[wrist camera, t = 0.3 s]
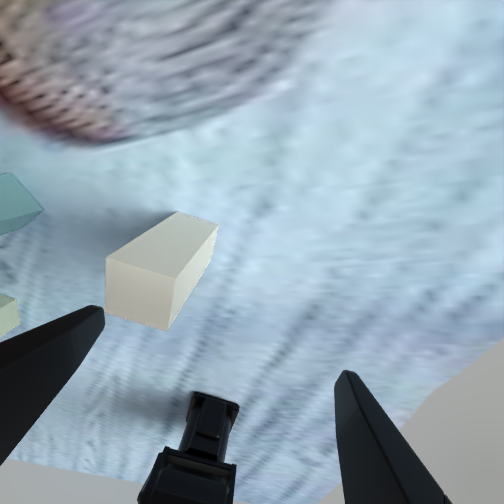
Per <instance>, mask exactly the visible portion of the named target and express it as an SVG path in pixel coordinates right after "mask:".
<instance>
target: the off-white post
mask: <svg viewBox="0 0 504 504" xmlns="http://www.w3.org/2000/svg"><path fill="white" fill-rule="evenodd" d="M218 227H219V224H217V223H214V222H211V221H208V220H204V219H201V218H198V217H194V216H191V215H188V214H185V213H181V212H176V213H174V214H173V215H171V216H170V217H168V218H167V219H165V220H163V221H162V222H160V223H159V224H157V225H156V226H154V227H152V228H151V229H149V230H148V231H146V232H145V233H143V234H142V235H140V236H138V237H137V238H135V239H134V240H132V241H131V242H129V243H127V244H126V245H124V246H123V247H121V248H120V249H118V250H116V251H115V252H113V253H112V254H110V255H109V256H107V257H106V269H105V313H107V314H110V315H113V316H117V317H120V318H123V319H127V320H130V321H133V322H137V323H140V324H143V325H147V326H150V327H153V328H157V329H160V330H163V331H168V329H169V328H170V326H171V324H172V323H173V321H174V320H175V318H176V316H177V315H178V313H179V311H180V310H181V308H182V307H183V305H184V303H185V302H186V300H187V298H188V297H189V295H190V294H191V292H192V290H193V289H194V287H195V285H196V284H197V282H198V281H199V279H200V277H201V276H202V274H203V272H204V271H205V269H206V268H207V266H208V264H209V263H210V261H211V257H212V253H213V249H214V244H215V240H216V236H217V231H218Z"/></svg>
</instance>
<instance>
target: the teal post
mask: <svg viewBox="0 0 504 504" xmlns="http://www.w3.org/2000/svg"><path fill="white" fill-rule="evenodd" d="M43 210H44V209H43V207H42V206H41V205H40V204H39V203H38V202H37V201H36V200H35V199H34V197H33V196H32V195H31V194H30V193H29V192H28V191H27V190H26V189H25V187H24V186H23V185H22V184H21V183H20V182H19V181H18V180H17V179H16V177H15V176H14V175H13V174H12V173H5V174H0V235H2V234H5V233H8V232H11V231H14V230H17V229H21V228H22V227H24V226H25V225H26V224H27V223H28V222H30V221H31V220H32V219H33V218H34V217H36V216H37V215H38V214H39V213H40V212H42V211H43Z"/></svg>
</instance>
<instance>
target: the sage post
mask: <svg viewBox="0 0 504 504" xmlns="http://www.w3.org/2000/svg"><path fill="white" fill-rule="evenodd" d="M19 324H21V323H20V317H19V312H18V306H17V301H16V299H14V298H11V297H7V296H4V295H1V294H0V337H2V336H3V335H5V334H6V333H8V332H9V331H11V330H12V329H14V328H15V327H16V326H18V325H19Z"/></svg>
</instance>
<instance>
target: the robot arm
mask: <svg viewBox="0 0 504 504" xmlns="http://www.w3.org/2000/svg"><path fill="white" fill-rule="evenodd" d="M104 326H105V317H104V309H103V308H102V307H99V306H96V305H89V306H86V307H84V308H82V309H79V310H77V311H74V312H72V313H70V314H67V315H65V316H62V317H60V318H58V319H55V320H53V321H50V322H48V323H46V324H43V325H41V326H38V327H36V328H34V329H31V330H29V331H26V332H24V333H22V334H19V335H17V336H14V337H12V338H10V339H7V340H5V341H3V342H0V466H1V465H2V463H3V462H4V461H5V460H6V458H7V457H8V456H9V454H10V453H11V452H12V451H13V449H14V448H15V447H16V446H17V444H18V443H19V442H20V441H21V439H22V438H23V437H24V436H25V434H26V433H27V432H28V431H29V429H30V428H31V427H32V426H33V424H34V423H35V422H36V421H37V419H38V418H39V417H40V415H41V414H42V413H43V412H44V410H45V409H46V408H47V407H48V405H49V404H50V403H51V402H52V400H53V399H54V398H55V397H56V395H57V394H58V393H59V392H60V390H61V389H62V388H63V387H64V385H65V384H66V383H67V382H68V380H69V379H70V378H71V376H72V375H73V374H74V373H75V371H76V370H77V369H78V367H79V366H80V364H81V363H82V361H83V360H84V358H85V357H86V355H87V354H88V352H89V351H90V349H91V348H92V346H93V344H94V343H95V341H96V340H97V338H98V337H99V335H100V334H101V332H102V331H103V329H104ZM334 397H335V424H336V439H337V448H338V455H339V462H340V470H341V477H342V484H343V492H344V499H345V504H452V502H451V501H450V500H449V498H448V497H447V496H446V495H445V494H444V492H443V490H442V489H441V488H440V486H439V485H438V483H437V482H436V481H435V479H434V478H433V477H432V475H431V474H430V473H429V471H428V470H427V469H426V467H425V466H424V465H423V463H422V462H421V461H420V459H419V458H418V456H417V455H416V453H415V452H414V451H413V449H412V448H411V447H410V445H409V444H408V443H407V441H406V440H405V439H404V437H403V436H402V434H401V433H400V432H399V430H398V429H397V428H396V426H395V425H394V424H393V422H392V421H391V419H390V418H389V417H388V415H387V414H386V413H385V411H384V410H383V409H382V407H381V406H380V404H379V403H378V402H377V400H376V399H375V398H374V396H373V395H372V394H371V392H370V391H369V389H368V388H367V387H366V385H365V384H364V383H363V381H362V380H361V379H360V377H359V376H358V375H357V374H356V373H355V372H353V371H349V370H343V371H342V373H341V375H340V376H339V378H338V380H337V381H336V383H335V386H334ZM239 408H240V407H239V405H237V404H234V403H231V402H227V401H224V400H221V399H217V398H214V397H211V396H207V395H204V394H200V393H197V392H195V393H193V396H192V399H191V403H190V407H189V410H188V414H187V418H186V422H187V425H186V428H185V431H184V434H183V437H182V439H181V442H180V445H179V448H178V450H175V449H171V448H170V447H167V446H165V448H164V450H163V452H161V453H159V454H158V456H157V459H156V461H155V464H154V466H153V468H152V471H151V473H150V474H149V476H148V478H147V480H146V482H145V484H144V486H143V487H142V489H141V491H140V493H139V495H138V498H137V501H138V504H233V496H234V486H235V476H236V466H237V465H235V464H232V465H231V464H228V463H224V460H225V454H226V449H227V443H228V438H229V433H230V431H231V429H232V426H233V424H234V422H235V419H236V417H237V414H238V412H239Z"/></svg>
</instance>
